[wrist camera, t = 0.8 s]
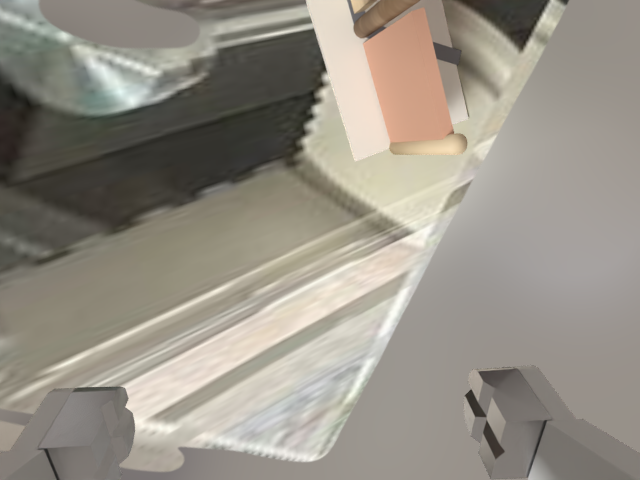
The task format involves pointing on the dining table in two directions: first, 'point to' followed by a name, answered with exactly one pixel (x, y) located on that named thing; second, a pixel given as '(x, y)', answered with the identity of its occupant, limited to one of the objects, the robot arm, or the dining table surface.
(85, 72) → the dining table surface
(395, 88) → the swing panel
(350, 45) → the card
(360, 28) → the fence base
